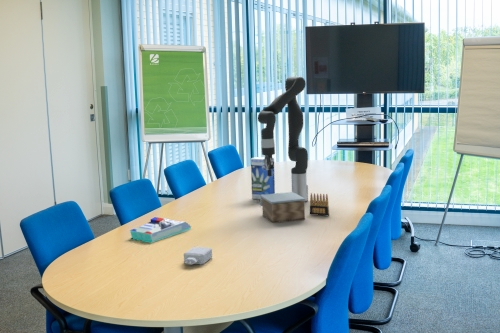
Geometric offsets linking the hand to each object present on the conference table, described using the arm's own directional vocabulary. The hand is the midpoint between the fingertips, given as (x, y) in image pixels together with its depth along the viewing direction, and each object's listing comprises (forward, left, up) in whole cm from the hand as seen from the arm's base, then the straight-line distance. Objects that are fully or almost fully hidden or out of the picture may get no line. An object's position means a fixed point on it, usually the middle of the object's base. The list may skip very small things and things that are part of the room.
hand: (269, 175), depth 334 cm
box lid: (0, +22, -14) cm, 26 cm away
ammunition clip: (-20, +26, -20) cm, 38 cm away
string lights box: (-5, -28, -20) cm, 35 cm away
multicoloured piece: (+68, +28, -20) cm, 76 cm away
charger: (+60, +80, -20) cm, 102 cm away
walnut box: (0, +23, -19) cm, 30 cm away
